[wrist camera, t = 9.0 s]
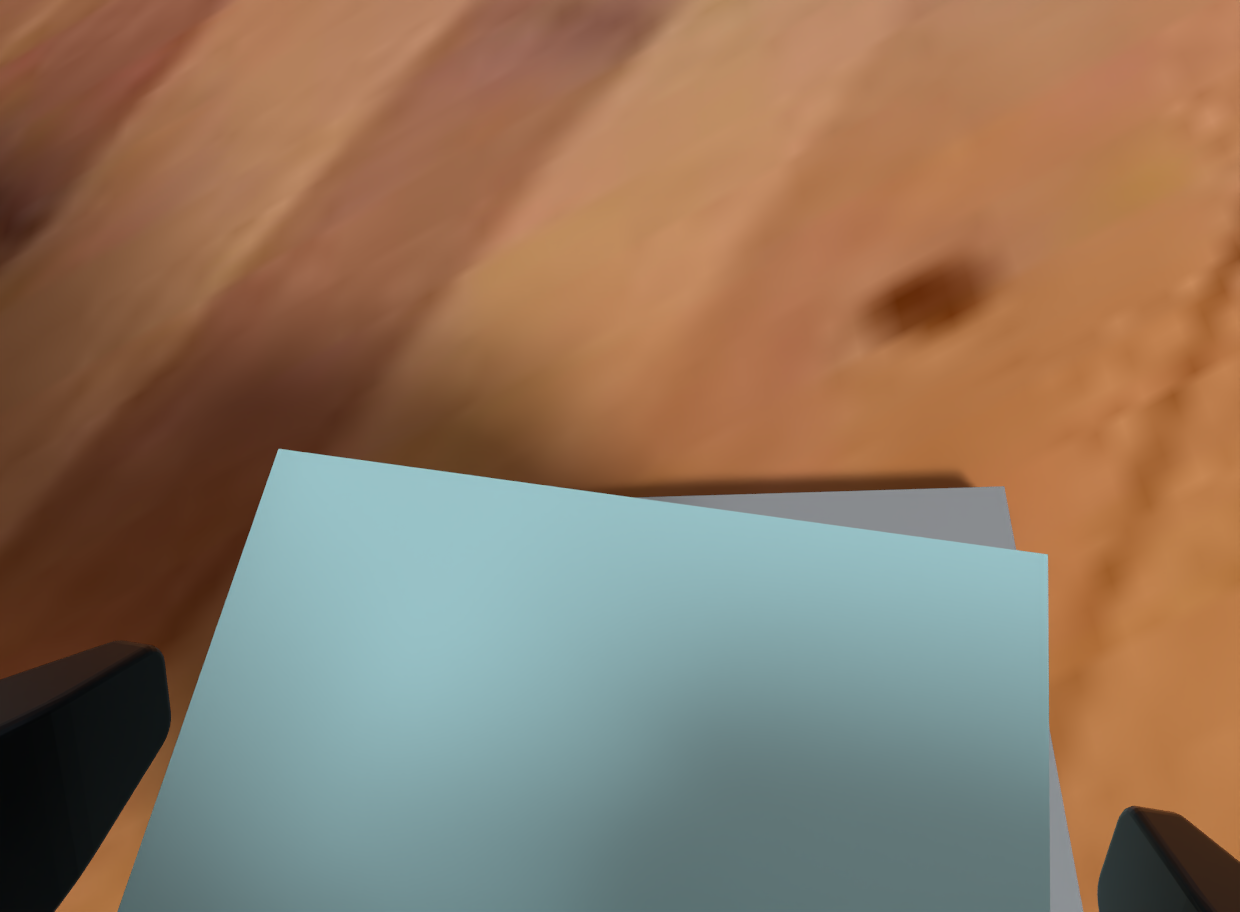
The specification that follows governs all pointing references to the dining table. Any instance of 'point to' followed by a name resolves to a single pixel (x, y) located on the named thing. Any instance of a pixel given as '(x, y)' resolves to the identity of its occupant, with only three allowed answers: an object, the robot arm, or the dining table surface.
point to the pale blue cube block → (602, 711)
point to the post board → (929, 516)
